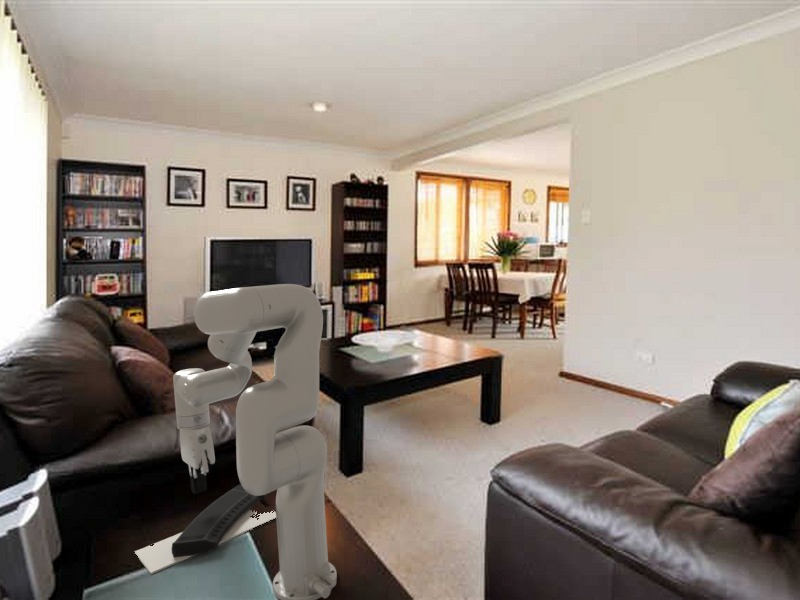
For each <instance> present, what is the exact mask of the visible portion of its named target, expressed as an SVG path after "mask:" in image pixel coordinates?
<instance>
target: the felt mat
mask: <svg viewBox="0 0 800 600" xmlns="http://www.w3.org/2000/svg"><path fill="white" fill-rule="evenodd" d="M273 511H274V512H273ZM273 511H271V512H270V513H269V512H267V513H265V512H264V513H263V514H261V513H260V514H258V515H260V516H259V517H257V518H259V519H258V520H257V518H255V517H256V516H255V515H256V514H257V511H256V512H255V510H254V511H253V512H252V510H250V509H248V510H247V511H246V512H245V513H244V514H243V515H242V516H241V517H239V518H238V519H237V521H236V522H235V523H234V524H233V525H232V526H231V527H230V529H229V530H228V531H227V532H226V533H225V535H224V536H223V537H222V539H221V540H220V542H219V544H218V546H219V545H221V544H223V543H225V542H227V541H230V540H233V539H234V538H236V537H239V536H241V535H243V534H246V533H248V532H250V531H252V530H254V529H253V528H255V527H257V526H259V525H261V526H263V525H262V524H264V523H266V522H268V523H270V522H271V521H270V520H273V519H275V518H276V510H273ZM272 512H273V513H272ZM253 514H255V515H253ZM252 515H253V516H255V517H254V518H252V517H250V516H252ZM258 515H257V516H258ZM275 520H276V519H275ZM269 521H270V522H269ZM273 521H274V520H273ZM266 524H267V523H266ZM264 525H265V524H264ZM259 527H260V526H259ZM257 528H258V527H257ZM255 529H256V528H255ZM249 530H250V531H249ZM247 531H248V532H247ZM245 532H246V533H245ZM182 533H183V531H182V532H179V533H176V534H175V535H173V536H169V537H167V538H165V539H161V540H159V541H157V542H155V543H153V544H154V545H153V546H150V545H151V544H150V545H147V546H145V547H143V548H140V549H137V550H134V552H135V553H134V555H135V554H136V555H137V556H138V557H137V556H136V555H135V556H136V557H137V558H139V559H138V560H139V562H140V563H141V564H142V565H143V566H144V567H145V568H146V570H147V571H148V573H149V574H150V575H153V574H156V573H157V572H160V571H163V570H164V569H166V568H169V567H171V566H173V565H176V564H178V563H180V562H182V561H185V560H186V559H187V560H188V559H189V558H191V557H194V556H195V555H191V556H183V557H175V558H174V557H173V554H172V543H173V542H175V541H176V540H177V539H178V537H179V536H180V535H181V534H182Z"/></svg>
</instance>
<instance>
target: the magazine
mask: <svg viewBox="0 0 800 600" xmlns="http://www.w3.org/2000/svg"><path fill="white" fill-rule="evenodd" d="M264 499H266V494H265V495H260V496H254V495H251V494H249V493H248V492H246V491H245V489H244V488H243V487H242V485H241V483H240V484H238V485H236V486H234V487H233V488H232V489H230V490H228V491H227V492H225V493H224V494H223V495H221V496H219V498H217V499H216V500H214V501H213V502H212V503H211V504H209V505H208V506H207V507H206V508H204V509H203V511H201V512H200V513H199V514H198V515H197V516H196V517H195V518H194V519H193V520H192V521H191V522H190V523H189V524H188V526H186V528H185V529H184V530H183V531H182V532H183V533H182V532H181V533H182V534H181V535H180V536H179V537H178V539H177V540H176V541H175V542H173V543H172V554H173V557H174V558H175V557H183V556H191V555H194V556H199V555H207V554H208V553H209V552H211V551H215V550H217V549H218V547H219V545H220V544H219V542H220V540H221V539H222V537H223V536H224V535H225V533H226V532H227V531H228V530H229V529H230V527H231V526H232V525H233V524H234V523H235V522H236V521H237V519H238V518H239V517H241V516H242V515H243V514H244V513H245V512H246V511H247V510H248V509H249V508H251V507H252V506H253V505H254V504H256V503H258V502H261V500H262V501H263V500H264ZM218 544H219V545H218Z"/></svg>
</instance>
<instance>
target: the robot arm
mask: <svg viewBox="0 0 800 600" xmlns="http://www.w3.org/2000/svg"><path fill="white" fill-rule="evenodd" d="M193 311H194V314H193V317H194V322H195V325H196V327H197V328H198V329H199V331H200V332H201V333H203V334H206V335H209V337H208V339H207V348H208V350H209V352H210V353H211V354H212V356H214V357H215V358H216V359H218V360H220V361H222V362H224V363H225V362H226V363H229V364H228V365H227V366H225V367H221V368H215V369H212V370H207V371H206V370H204V369H203V368H197V367H195V368H186V369H181V370H179V371H177V372H175V373H174V374H173V379H172V381H173V392H174V404H175V416H176V428H177V429H178V430H179V444H180V445H179V446H180V454H181V459H182V461H183V462H184V463H185V464H187V466H188V471H189V476H190V479H189V480H190V488H191V492H192V493H193V495H197V494H200V493H202V492H205V491H207V490H208V485H207V473H209V472H210V471H209V470H210V469H209V465H208V464H210V465H214V464H215V462H216V456H215V449H214V448H215V447H214V441H213V435H212V430H211V426H210V423H211V417H210V416H211V415H210V406H209V405H210V404H213V403H216V402H219V401H223V400H227V399H231V398H234V397H236V396H238V395H239V394H241V395H240V396H239V398H238V401H237V402H236V403H237V404H236V408H235V446H236V449H235V450H236V451H235V452H236V453H235V454H236V456H235V457H236V471H237V476H238V479H239V480H238V481H239V483H240V484H241V485H242V487H243V488H244V489H245V491H246V492H248V493H249V494H251V495H254V496H260V495H265V496H266V495H267V494H270V493H271V492H274V491H276V496H275V512H276V519H275V520H276V532H277V536H276V537H277V547H278V561H279V564H278V565H279V571H278V572H276V575H275V576H274V578H273V581H272V591H273V594H274V595H275V597H276V598H277V599H279V600H319V599H321V598H323V599H327V598H328V597H329V596H330V595H331V593H332V590H333V588H334V587H335V586H336V585H337V581H338V580H337V578H338V576H337V575H338V574H337V569H336V567H335V565H333V564H332V563H331V562H329V555H328V537H327V523H326V522H327V521H326V508H325V506H326V504H325V471H326V470H325V469H326V465H327V464H326V462H327V457H328V455H327V454H328V453H327V450H328V449H327V442H326V440H325V437H324V435H323V434H322V432H321V431H320V430H319V429H318V428H316V427H314V426H310V425H303V424H304V423H306V422H308V421H310V420H311V419H313V418H314V417H315V416H316V415H317V413H318V410H319V405H320V404H319V403H320V350H321V342H322V335H323V327H324V314H323V313H324V312H323V308H322V305H321V302H320V301H319V298H318V296H316V294H315V293H314V292H313V290H311V289H310V288H308V287H306V286H303V285H300V284H295V283H283V284H282V283H279V284H268V285H267V284H266V285H255V286H244V287H243V286H241V287H234V288H229V289H228V288H227V289H223V290H222V289H220V290H214V291H209V292H205V293H204V294H203V295H201V296H200V297H199V299H198V300H197V302H196V304H195V306H194V310H193ZM281 328H283V329H285V331H284V333H283V334H282V336H281V337H280V339H279V340H278V343H277V346H276V348H275V351H274V355H273V364H274V365H273V366H274V367H273V377H272V378H271V379H270V380H267V381H264V382H260V383H257V384H253V385H251V386H248V387H247V388H246V389H245V387H246V386H247V384H248V382H249V380H250V379H251V376H252V373H253V361H252V357H251V354H250V351H248V350H249V348H250V346H251V344H252V342H253V340H254V338H255V336H256V334H257V332H265V331H269V330H275V329H281ZM244 389H245V390H244ZM243 390H244V391H243ZM241 392H242V393H241Z"/></svg>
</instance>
